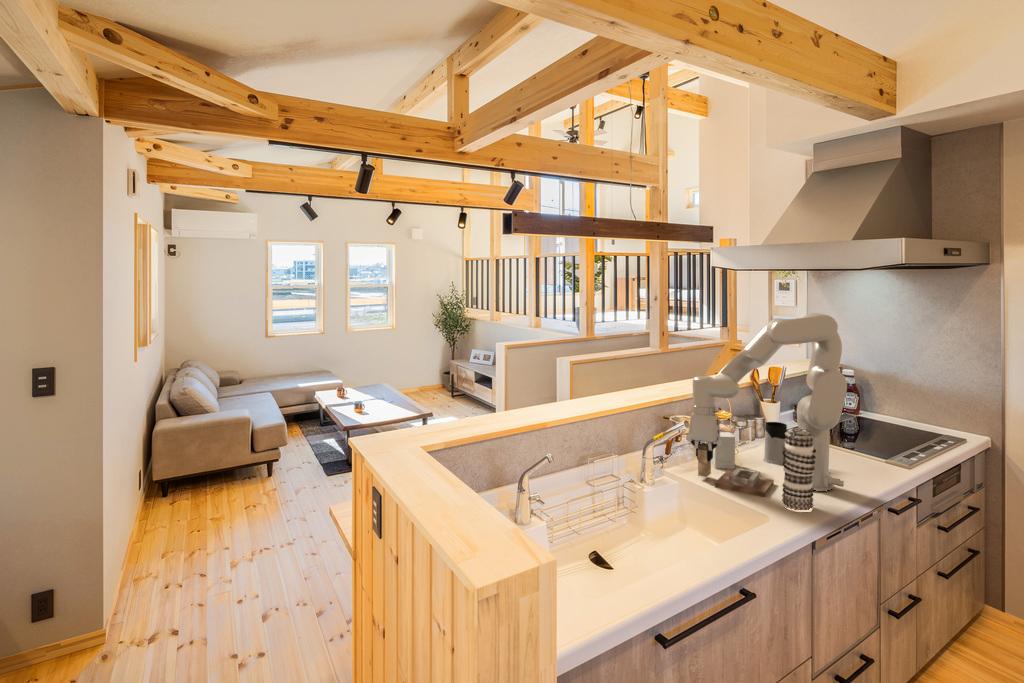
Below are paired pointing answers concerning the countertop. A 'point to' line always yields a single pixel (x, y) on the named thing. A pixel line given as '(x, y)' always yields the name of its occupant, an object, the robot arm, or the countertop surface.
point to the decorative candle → (798, 469)
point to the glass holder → (774, 442)
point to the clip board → (745, 482)
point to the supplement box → (725, 452)
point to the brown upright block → (703, 460)
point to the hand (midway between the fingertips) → (704, 459)
